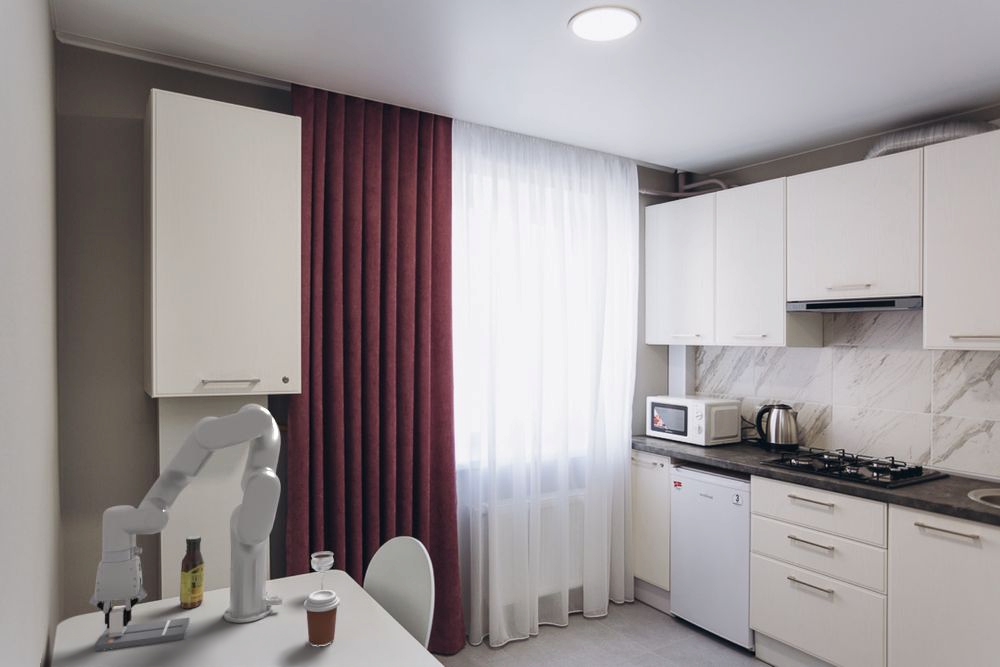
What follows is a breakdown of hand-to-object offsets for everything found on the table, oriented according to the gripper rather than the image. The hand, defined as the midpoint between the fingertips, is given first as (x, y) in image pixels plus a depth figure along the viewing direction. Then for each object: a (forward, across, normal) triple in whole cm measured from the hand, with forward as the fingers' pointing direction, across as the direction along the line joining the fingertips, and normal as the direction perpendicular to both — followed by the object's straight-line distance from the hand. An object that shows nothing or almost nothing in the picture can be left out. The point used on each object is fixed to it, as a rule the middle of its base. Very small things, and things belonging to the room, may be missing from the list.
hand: (118, 624), depth 161 cm
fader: (+2, 0, 0) cm, 2 cm away
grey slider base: (+4, -6, 0) cm, 7 cm away
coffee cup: (+4, -50, +18) cm, 53 cm away
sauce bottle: (+4, -15, -18) cm, 24 cm away
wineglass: (+4, -52, -14) cm, 54 cm away
